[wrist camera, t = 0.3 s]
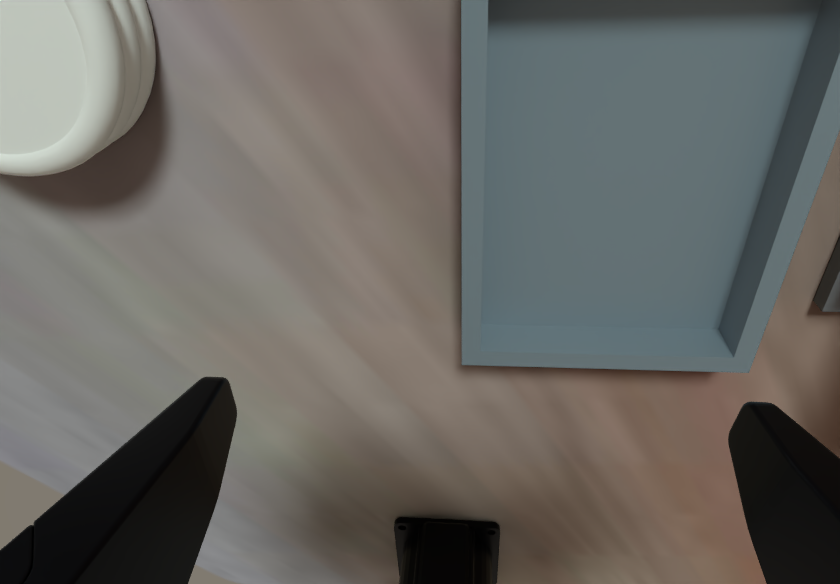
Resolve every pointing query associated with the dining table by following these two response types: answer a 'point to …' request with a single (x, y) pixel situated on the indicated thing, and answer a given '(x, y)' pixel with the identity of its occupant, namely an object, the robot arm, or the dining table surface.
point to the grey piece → (830, 285)
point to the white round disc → (70, 79)
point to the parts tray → (637, 175)
